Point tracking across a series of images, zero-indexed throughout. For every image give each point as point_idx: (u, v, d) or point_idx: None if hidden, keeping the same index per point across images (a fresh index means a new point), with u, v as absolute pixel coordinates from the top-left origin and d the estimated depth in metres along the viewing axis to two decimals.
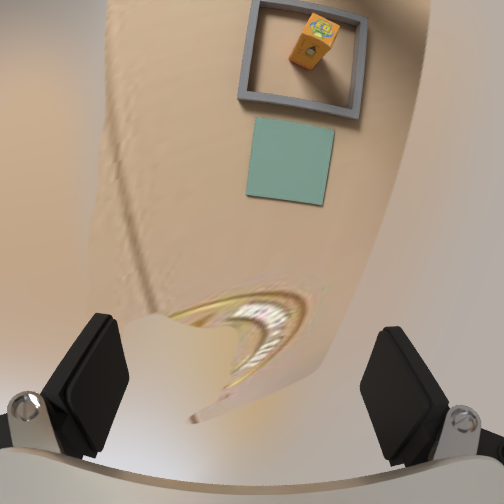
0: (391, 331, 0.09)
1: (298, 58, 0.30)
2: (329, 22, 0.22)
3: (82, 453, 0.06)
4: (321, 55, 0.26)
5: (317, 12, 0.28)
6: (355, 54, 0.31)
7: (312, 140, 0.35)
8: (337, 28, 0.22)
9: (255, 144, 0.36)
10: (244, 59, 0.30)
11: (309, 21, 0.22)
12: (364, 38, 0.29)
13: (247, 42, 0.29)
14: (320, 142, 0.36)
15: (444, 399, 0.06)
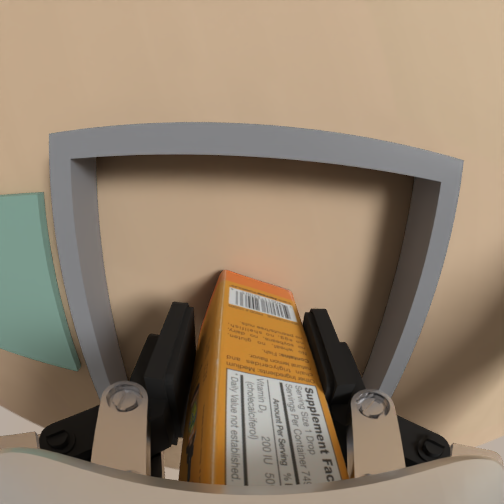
0: (314, 312, 0.10)
1: (208, 321, 0.10)
2: None
3: (171, 439, 0.07)
4: (182, 452, 0.07)
5: (389, 341, 0.12)
6: None
7: (39, 330, 0.13)
8: None
9: None
10: (181, 129, 0.08)
11: None
12: None
13: (263, 135, 0.09)
14: (44, 344, 0.13)
15: (351, 379, 0.07)
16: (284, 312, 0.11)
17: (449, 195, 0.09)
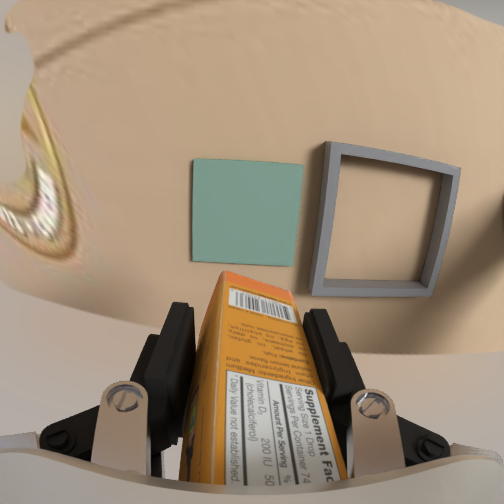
0: (314, 312, 0.10)
1: (208, 322, 0.10)
2: None
3: (171, 439, 0.07)
4: (181, 454, 0.07)
5: (436, 240, 0.29)
6: (388, 283, 0.31)
7: (276, 240, 0.29)
8: None
9: (265, 166, 0.27)
10: (382, 152, 0.25)
11: None
12: (408, 294, 0.30)
13: (404, 157, 0.25)
14: (275, 250, 0.30)
15: (351, 380, 0.07)
16: (284, 313, 0.10)
17: (456, 180, 0.25)
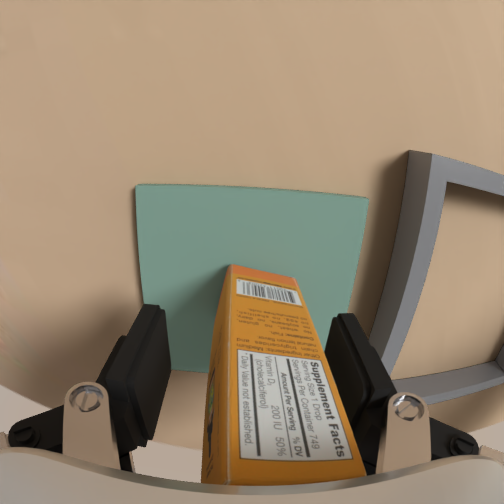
0: (343, 317, 0.10)
1: (220, 311, 0.11)
2: None
3: (137, 441, 0.07)
4: None
5: None
6: (462, 376, 0.17)
7: None
8: None
9: (291, 200, 0.12)
10: None
11: None
12: (485, 386, 0.16)
13: None
14: None
15: (386, 384, 0.07)
16: (289, 297, 0.11)
17: None
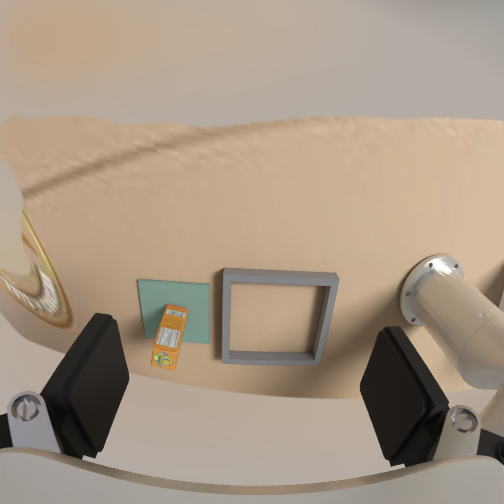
0: (391, 331, 0.09)
1: None
2: (173, 363, 0.33)
3: (82, 453, 0.06)
4: None
5: (320, 328, 0.42)
6: (282, 355, 0.44)
7: (196, 329, 0.43)
8: (170, 369, 0.33)
9: (183, 286, 0.40)
10: (263, 278, 0.38)
11: (166, 351, 0.32)
12: (297, 363, 0.43)
13: (282, 279, 0.38)
14: (196, 334, 0.43)
15: (444, 399, 0.06)
16: (181, 315, 0.39)
17: (334, 288, 0.39)
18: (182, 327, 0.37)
